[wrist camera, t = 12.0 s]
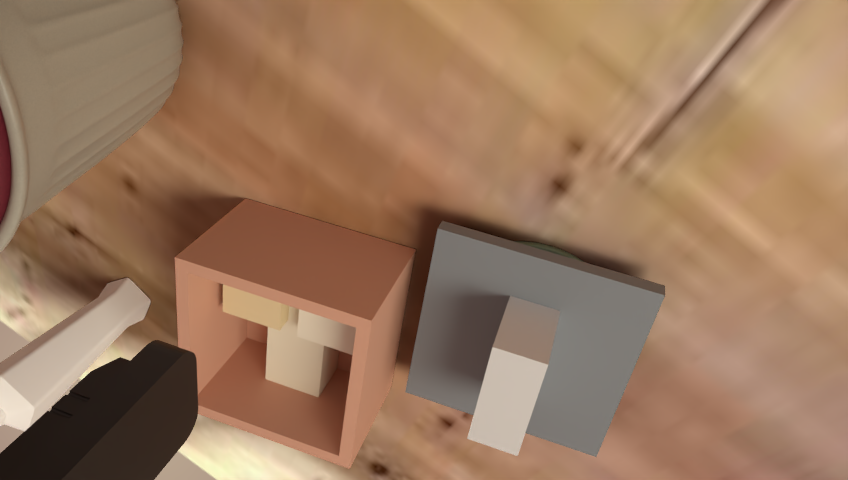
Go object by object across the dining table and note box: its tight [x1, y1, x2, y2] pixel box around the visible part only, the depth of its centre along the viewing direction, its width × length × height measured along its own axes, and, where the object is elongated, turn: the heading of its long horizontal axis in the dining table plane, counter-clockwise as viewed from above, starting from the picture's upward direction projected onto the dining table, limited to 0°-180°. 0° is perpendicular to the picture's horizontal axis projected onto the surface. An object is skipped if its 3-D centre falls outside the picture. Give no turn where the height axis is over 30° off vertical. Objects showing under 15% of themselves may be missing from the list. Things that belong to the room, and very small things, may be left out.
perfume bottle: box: [0, 278, 151, 431], centre depth 48 cm, size 5×4×15 cm
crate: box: [175, 198, 416, 469], centre depth 45 cm, size 12×13×8 cm
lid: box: [406, 221, 665, 457], centre depth 41 cm, size 13×13×7 cm
